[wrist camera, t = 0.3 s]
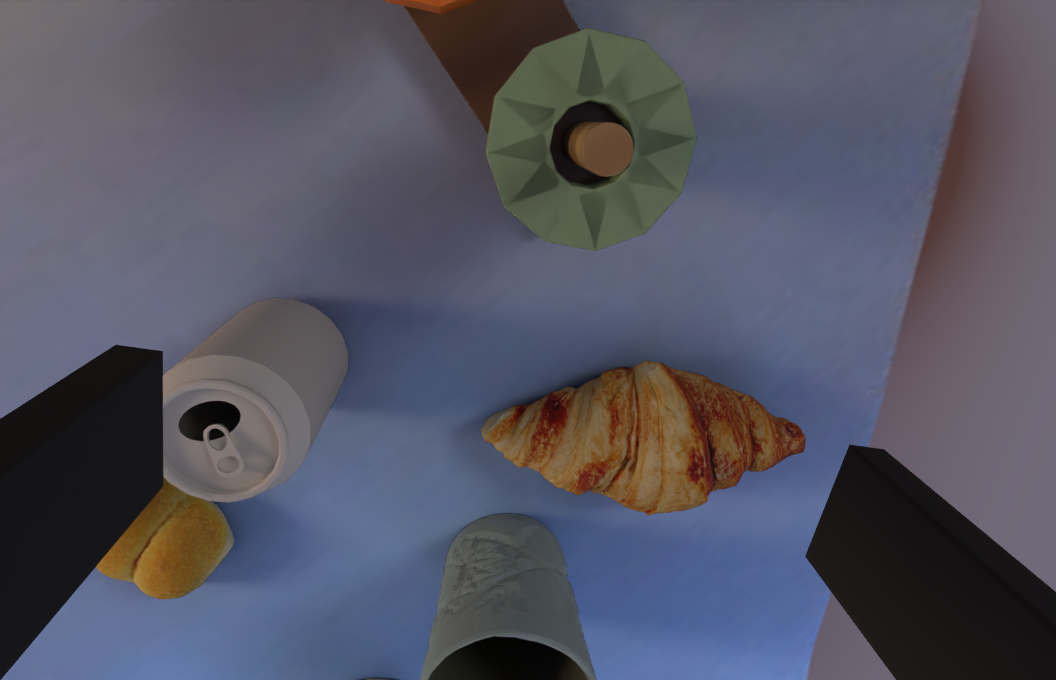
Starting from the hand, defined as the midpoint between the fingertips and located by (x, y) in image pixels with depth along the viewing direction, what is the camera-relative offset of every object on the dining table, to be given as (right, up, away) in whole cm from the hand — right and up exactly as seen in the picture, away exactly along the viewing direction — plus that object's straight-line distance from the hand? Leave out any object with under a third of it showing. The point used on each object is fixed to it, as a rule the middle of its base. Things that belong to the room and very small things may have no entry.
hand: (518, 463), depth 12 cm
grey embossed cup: (-2, -14, +34) cm, 37 cm away
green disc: (+3, +11, +17) cm, 21 cm away
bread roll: (-24, -10, +31) cm, 41 cm away
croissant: (+8, -3, +31) cm, 32 cm away
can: (-15, +2, +27) cm, 31 cm away
